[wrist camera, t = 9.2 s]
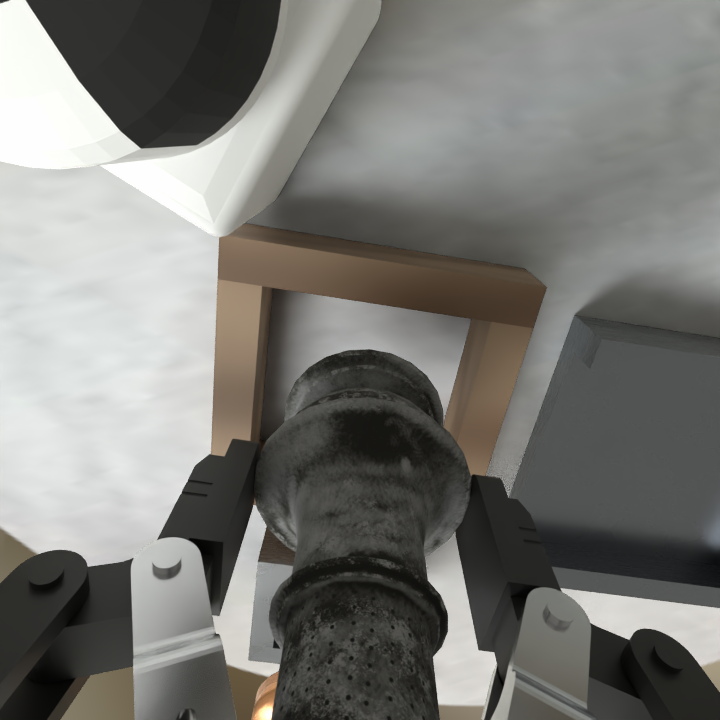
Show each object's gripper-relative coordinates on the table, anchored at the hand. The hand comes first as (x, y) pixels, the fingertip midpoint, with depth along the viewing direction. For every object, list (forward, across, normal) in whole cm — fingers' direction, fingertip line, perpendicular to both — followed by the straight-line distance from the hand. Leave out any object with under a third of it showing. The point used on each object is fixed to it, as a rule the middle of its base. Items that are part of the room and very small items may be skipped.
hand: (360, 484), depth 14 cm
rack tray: (+8, -14, +3) cm, 16 cm away
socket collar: (+8, 0, +1) cm, 8 cm away
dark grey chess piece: (+3, 0, 0) cm, 3 cm away
